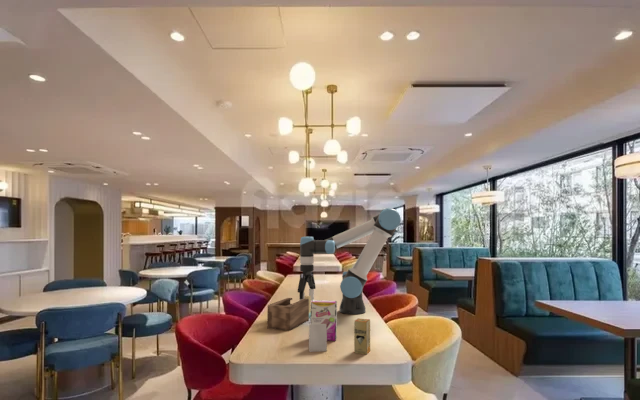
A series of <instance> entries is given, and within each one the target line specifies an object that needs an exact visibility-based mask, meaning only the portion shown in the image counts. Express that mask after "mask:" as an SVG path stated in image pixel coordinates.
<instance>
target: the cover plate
mask: <svg viewBox="0 0 640 400" xmlns="http://www.w3.org/2000/svg"><path fill="white" fill-rule="evenodd" d="M305 299H309V319H311V296H309V295H305Z"/></svg>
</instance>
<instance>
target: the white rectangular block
mask: <svg viewBox="0 0 640 400" xmlns="http://www.w3.org/2000/svg"><path fill="white" fill-rule="evenodd" d="M327 349H328V341H327V329H326V324H311V323H309V324H308V351H309V353H310V352H311V353H312V352H314V353H315V352H327Z"/></svg>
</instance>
